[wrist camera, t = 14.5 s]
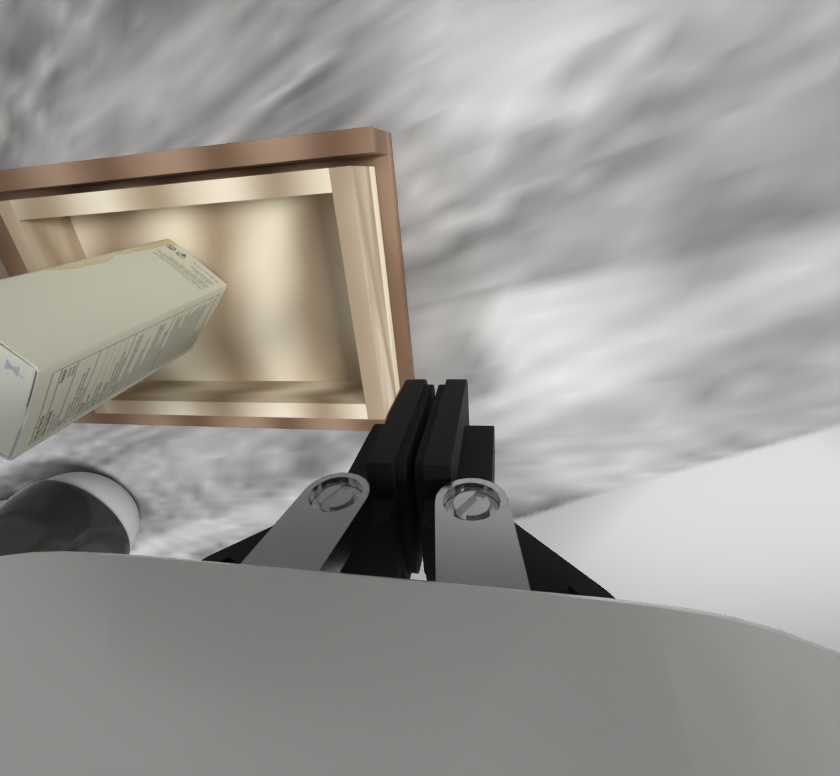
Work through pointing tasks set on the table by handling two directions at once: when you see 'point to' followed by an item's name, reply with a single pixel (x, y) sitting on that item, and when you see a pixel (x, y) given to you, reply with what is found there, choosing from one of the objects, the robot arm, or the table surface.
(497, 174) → the table surface
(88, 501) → the black penguin figurine
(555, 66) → the table surface
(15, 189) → the wooden serving tray
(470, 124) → the table surface
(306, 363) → the birch crate
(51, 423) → the skincare box
